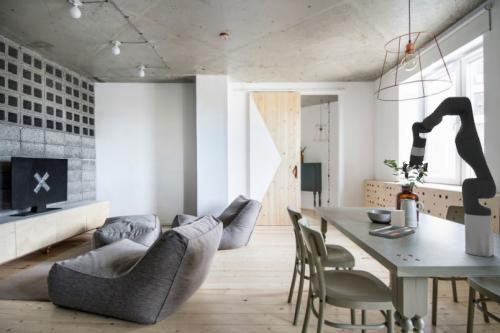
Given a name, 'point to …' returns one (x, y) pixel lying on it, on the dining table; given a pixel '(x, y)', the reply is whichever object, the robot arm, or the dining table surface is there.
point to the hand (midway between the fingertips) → (413, 177)
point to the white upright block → (397, 219)
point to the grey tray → (391, 232)
